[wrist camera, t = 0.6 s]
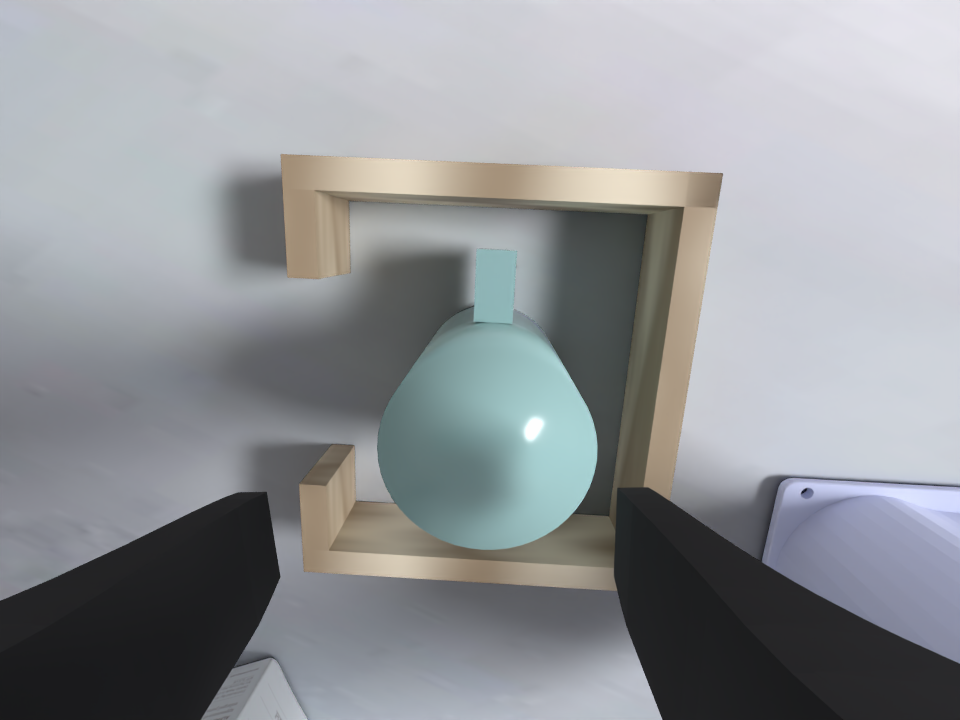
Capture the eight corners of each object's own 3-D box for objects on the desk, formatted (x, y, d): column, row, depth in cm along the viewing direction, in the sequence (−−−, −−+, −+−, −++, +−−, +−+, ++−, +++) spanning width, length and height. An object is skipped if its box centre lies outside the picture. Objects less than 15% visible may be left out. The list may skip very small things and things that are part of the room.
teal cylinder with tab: (566, 252, 18) (620, 256, 10) (550, 434, 20) (585, 555, 12) (426, 245, 18) (375, 245, 10) (423, 427, 20) (378, 543, 12)
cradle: (677, 187, 17) (722, 173, 14) (628, 536, 21) (654, 593, 17) (322, 172, 17) (280, 154, 14) (334, 519, 21) (303, 571, 18)
